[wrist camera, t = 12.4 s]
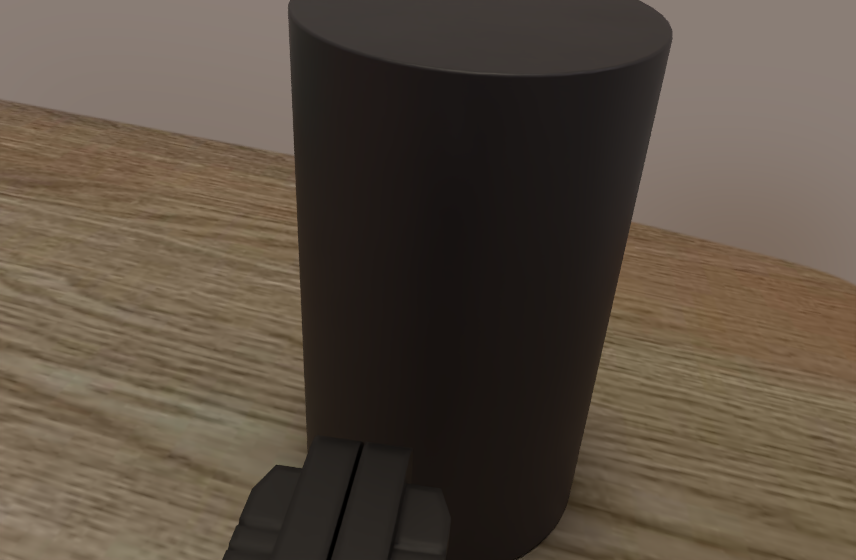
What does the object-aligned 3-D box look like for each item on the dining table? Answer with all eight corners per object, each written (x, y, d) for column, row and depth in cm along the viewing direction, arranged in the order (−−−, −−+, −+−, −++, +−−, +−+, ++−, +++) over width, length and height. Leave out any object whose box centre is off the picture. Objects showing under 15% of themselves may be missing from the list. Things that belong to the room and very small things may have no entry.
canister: (600, 425, 23) (704, -3, 16) (516, 623, 18) (618, 109, 11) (386, 349, 25) (398, -52, 19) (254, 504, 20) (204, 20, 13)
